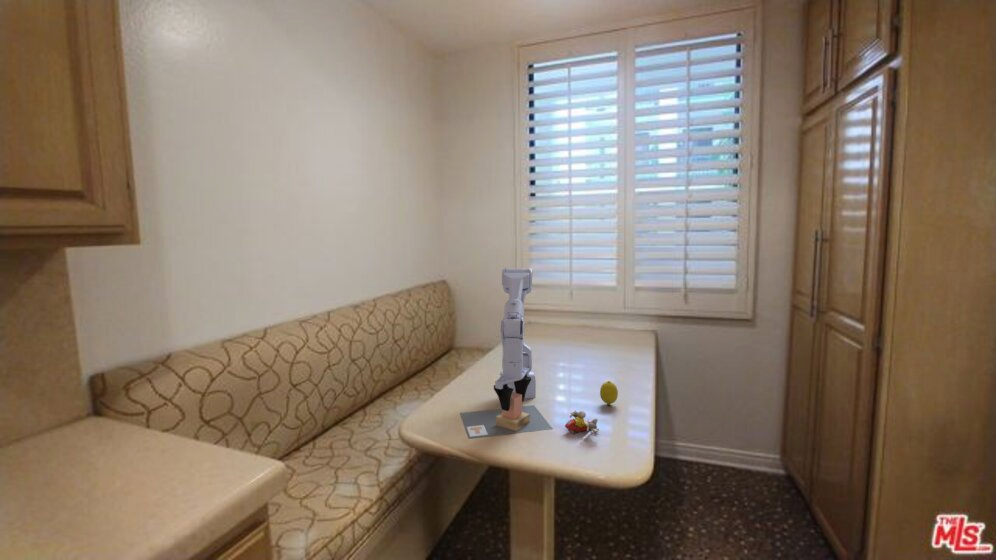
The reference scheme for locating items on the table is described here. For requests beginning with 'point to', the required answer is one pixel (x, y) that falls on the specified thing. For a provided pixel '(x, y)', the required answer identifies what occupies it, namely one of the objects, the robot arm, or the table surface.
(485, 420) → the board
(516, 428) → the slab
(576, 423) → the toy airplane
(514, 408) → the pillar
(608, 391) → the lemon
